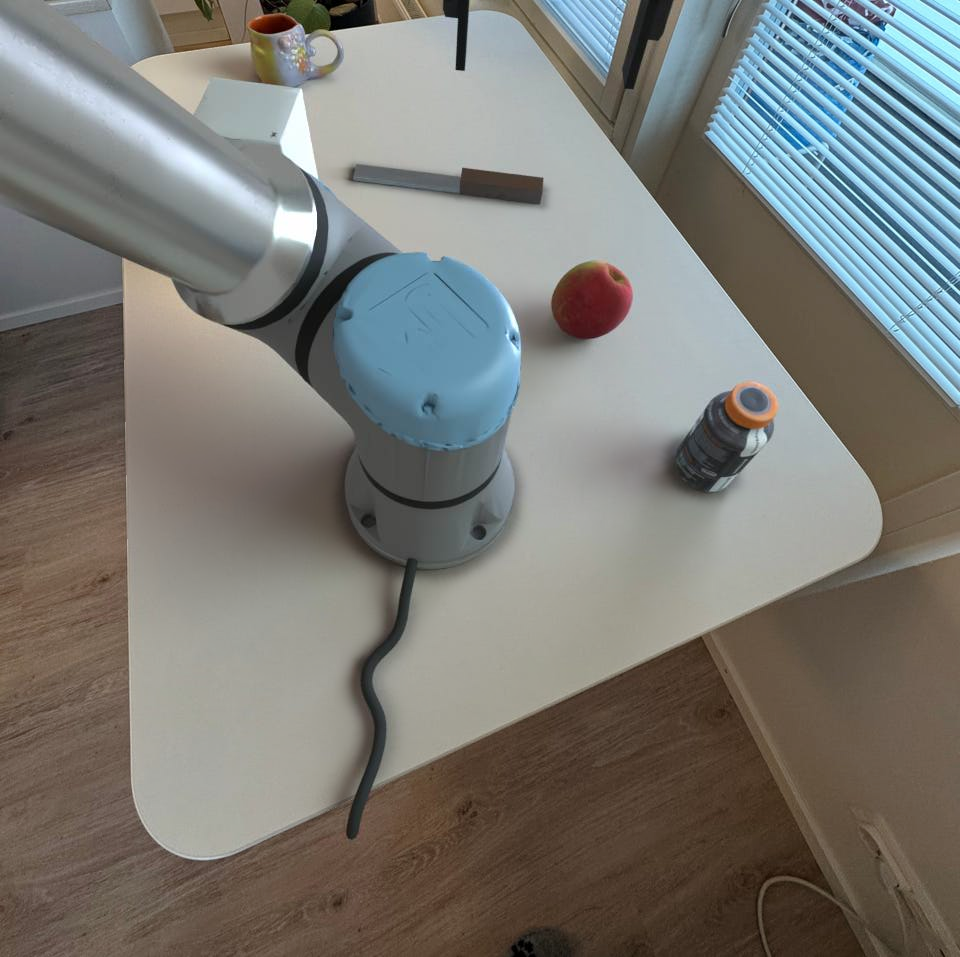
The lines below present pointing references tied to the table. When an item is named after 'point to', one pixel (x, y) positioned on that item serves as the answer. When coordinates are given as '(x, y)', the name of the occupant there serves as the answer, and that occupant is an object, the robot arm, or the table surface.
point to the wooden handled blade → (459, 182)
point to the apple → (591, 300)
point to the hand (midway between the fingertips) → (544, 70)
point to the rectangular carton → (259, 118)
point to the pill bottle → (727, 436)
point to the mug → (287, 50)
